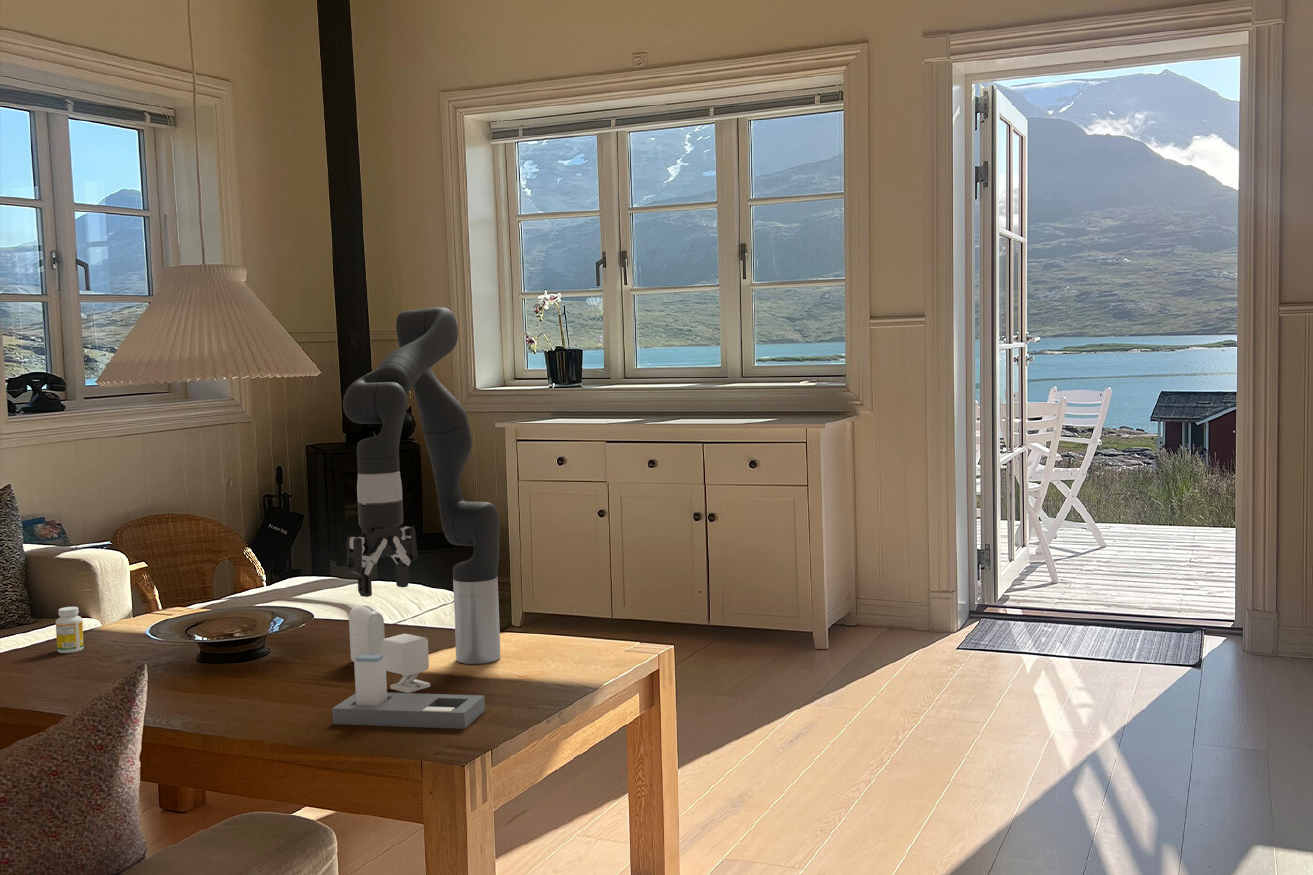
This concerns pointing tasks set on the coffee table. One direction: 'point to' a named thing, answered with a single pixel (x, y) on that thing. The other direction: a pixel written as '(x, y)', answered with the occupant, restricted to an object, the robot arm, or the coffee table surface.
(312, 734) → the coffee table surface
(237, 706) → the coffee table surface
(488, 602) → the robot arm
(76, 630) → the supplement bottle
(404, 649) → the white cube on bracket
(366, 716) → the socket panel
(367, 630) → the photo printer
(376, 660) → the plug
